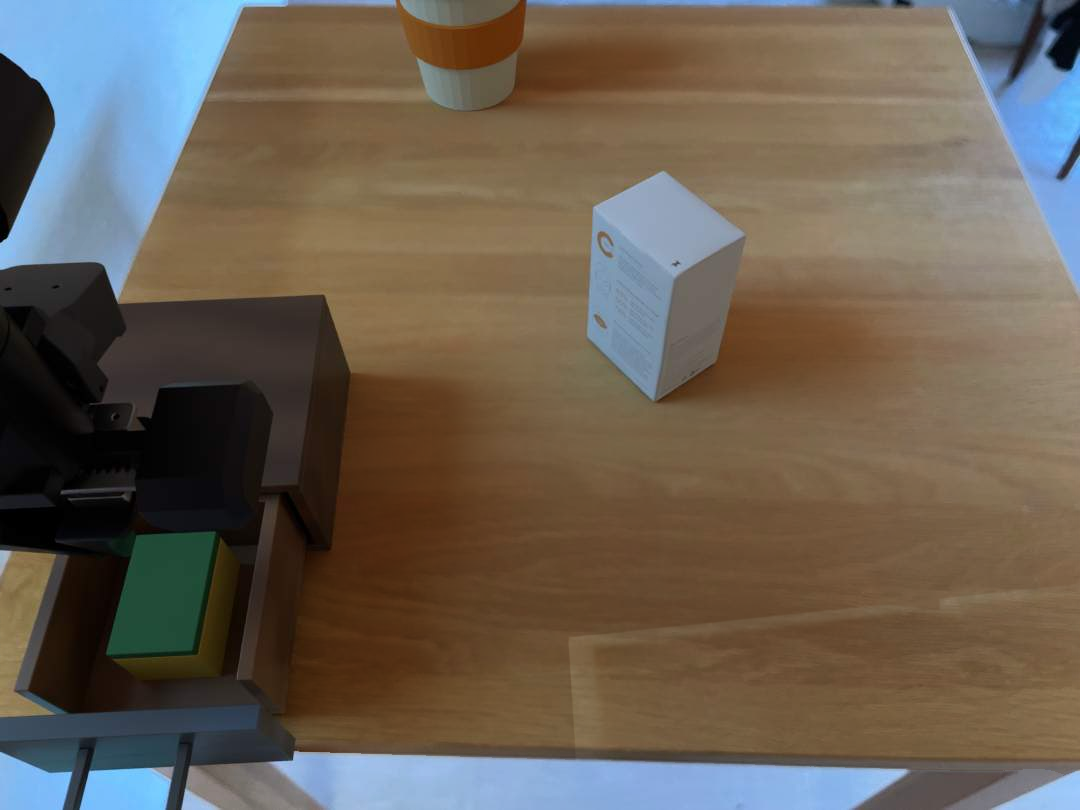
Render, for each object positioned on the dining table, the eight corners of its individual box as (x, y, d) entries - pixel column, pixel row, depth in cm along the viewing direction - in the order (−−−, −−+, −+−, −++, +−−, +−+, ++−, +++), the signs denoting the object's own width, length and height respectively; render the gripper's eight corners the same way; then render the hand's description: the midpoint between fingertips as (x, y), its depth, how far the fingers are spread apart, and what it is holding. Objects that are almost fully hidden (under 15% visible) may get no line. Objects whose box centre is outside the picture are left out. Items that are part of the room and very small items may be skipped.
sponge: (221, 676, 48) (192, 650, 44) (140, 680, 48) (105, 654, 44) (240, 563, 52) (216, 530, 48) (166, 566, 52) (136, 534, 48)
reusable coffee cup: (406, 52, 87) (381, -103, 74) (526, 43, 87) (521, -112, 75) (407, 127, 79) (380, -31, 67) (538, 117, 80) (535, -41, 68)
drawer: (281, 857, 43) (241, 837, 38) (22, 870, 43) (-57, 852, 38) (319, 538, 54) (292, 486, 48) (110, 548, 54) (59, 497, 48)
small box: (717, 363, 63) (750, 234, 52) (653, 405, 60) (674, 279, 50) (646, 299, 66) (664, 166, 56) (584, 336, 64) (589, 206, 54)
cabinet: (331, 550, 54) (297, 484, 47) (106, 561, 54) (38, 497, 47) (350, 372, 63) (324, 294, 56) (155, 381, 62) (104, 303, 55)
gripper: (234, 182, 33) (324, 405, 46) (-239, 202, 33) (-16, 421, 46) (177, 413, 27) (300, 598, 40) (-409, 440, 27) (-95, 617, 39)
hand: (119, 547), depth 41 cm, fingers closed
